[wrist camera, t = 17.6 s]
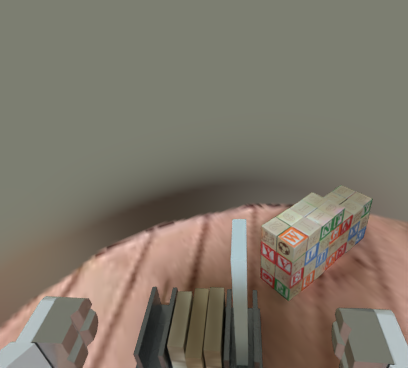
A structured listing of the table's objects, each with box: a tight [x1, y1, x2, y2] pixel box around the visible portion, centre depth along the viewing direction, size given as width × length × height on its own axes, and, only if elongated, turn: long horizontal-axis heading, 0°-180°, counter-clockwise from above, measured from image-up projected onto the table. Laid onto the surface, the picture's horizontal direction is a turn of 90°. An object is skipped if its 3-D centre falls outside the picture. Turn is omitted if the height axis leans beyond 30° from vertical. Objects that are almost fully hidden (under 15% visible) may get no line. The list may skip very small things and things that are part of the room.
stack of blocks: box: [261, 185, 373, 301], centre depth 54 cm, size 21×6×12 cm, turn 127°
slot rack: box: [134, 287, 263, 368], centre depth 44 cm, size 17×11×6 cm, turn 84°
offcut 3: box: [203, 287, 226, 368], centre depth 43 cm, size 2×9×6 cm, turn 173°
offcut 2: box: [185, 288, 209, 368], centre depth 44 cm, size 2×10×5 cm, turn 174°
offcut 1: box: [167, 291, 193, 368], centre depth 44 cm, size 2×8×6 cm, turn 174°
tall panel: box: [231, 219, 248, 366], centre depth 39 cm, size 2×6×20 cm, turn 174°
